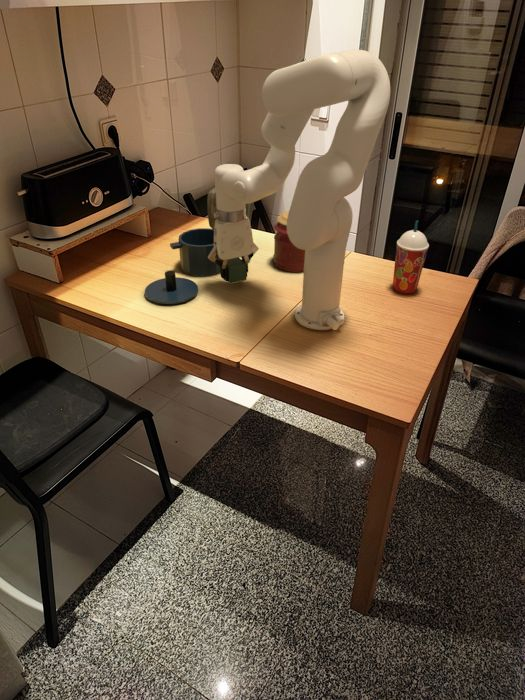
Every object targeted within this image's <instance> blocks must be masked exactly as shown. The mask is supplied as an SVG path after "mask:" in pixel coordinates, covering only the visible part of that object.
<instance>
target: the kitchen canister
mask: <svg viewBox="0 0 525 700" xmlns="http://www.w3.org/2000/svg"><path fill="white" fill-rule="evenodd" d="M288 214H289V210H288V211H284V212H283V213H281V214H280V215H278V217H277V219H276V221H277V222H276V223H275V224H274V225H273V226H274V230H275V234H274V235H273V239H274V245H273V246H274V248H273V262H274V265H275V267H276V268H278V269H280V270H282V271H286V272H293V273H297V272H298V273H299V272H304V260H305V250H302V249H299V248H297V247H296V246H294V245H293V244H292V242H291V241H290V239H289V237H288V234H287V218H288Z"/></svg>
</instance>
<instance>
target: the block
mask: <svg viewBox="0 0 525 700" xmlns="http://www.w3.org/2000/svg"><path fill="white" fill-rule="evenodd" d="M226 267H227V268H228V277H229V281H227V282H228V283H229V284H236V283H239V282H244V281H247V278H248V277H246V263H245V262H244V261H242V258H241V257H238V258H233V259H228V260H227V265H226Z"/></svg>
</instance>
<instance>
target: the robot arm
mask: <svg viewBox="0 0 525 700" xmlns="http://www.w3.org/2000/svg"><path fill="white" fill-rule="evenodd" d="M261 89H262V90H261V100H262V105H263V106H264V108H265V110H266V111H267V114H266V116H265V118H264V121H263V122H262V125H261V127H260V129H261V130H260V133H261V135H262V137H263V139H264V140H265V142H266V143H267V144H269V145H270V149H269V151H268V153H267V155H266V157H265V159H264V160H263V163H262V164H260V165H257V166H254V167H252V168H250V169H246V170H244V168H243V167H242V166H241V165H240V164H237V163H236V164H235V163H233V164H227V163H223V164H220V165H218V166H217V167H215V169H214V171H213V172H214V173H213V174H214V175H213V176H214V187H215V190H216V204H217V209H216V212H215V213H212V217H213V218H217V220H215V227H214V247H213V249H212V251H211V252H210V254H209V255H208V259H209V260H211V261H212V262H214V263H216V264H217V265H219V266H220V271H221V273H220V277H221V279H223V280H224V281H225V282H228V281H229V277H228V268H227V267H226V265H227V260H228V259H233V258H238V257H239V258H240V259H241V260H242V261H244V262H245V263H246V278H248V273H249V264H250V262H251V261H250V260H251V259H252V258H253V257H254V255H255V254H256V253H257V252H258V251H259V250H260V249H259V247H258V245H256V243H254V237H253V231H252V226H251V219H250V220H249V218H248V217H246V207H245V204H250V203H251V204H253V203H255V202H258V201H260V200H262V199H265V198H267V197H270V196H271V195H273V194H275V193H277V192H278V191H279V190H280V189H281V187H282V186H283V185H284V183H285V182H286V180H287V178H288V176H289V175H290V173H291V171H292V169H293V166H294V164H295V160H296V158H295V157H296V144H297V142H298V140H299V138H300V137H301V135H302V133H303V131H304V129H305V128H306V125H307V124H308V122H309V121H310V119H311V117H312V115H313V113H314V111H315V110H317V109H321V108H325V107H326V108H327V107H329V106H333V105H337V104H341V103H345V102H347V104H346V105H347V106H346V107H345V110H344V112H343V113H342V115H341V116H340V118H339V121H338V123H337V125H336V128H335V132H334V134H333V138H332V141H331V143H330V147H329V148H328V150H327V152H326V153H324V154H322V155H320V156H318V157H315V158H314V159H312V160H310V161H309V162H308V163H307V164H306V165H305V166H304V168H303V169H302V170H301V172H300V174H299V176H298V179H297V182H296V186H295V188H294V193H293V197H292V200H291V204H290V207H289V210H288V211H289V214H288V218H287V234H288V237H289V239H290V241H291V242H292V244H293V245H294V246H296V247H297V248H299V249H302V250H305V260H304V271H303V277H302V293H301V294H302V295H301V296H302V297H301V305H299V306H298V307H297V308H296V310H295V312H294V318H295V321H296V322H297V323H298V324H300V325H301V326H303V327H304V328H307V329H310V330H314V331H328V330H333V331H337V330H338V329H339V328H340V326H341V325H343V324H345V313H344V311H343V310H342V308H341V307H340V303H341V295H342V286H343V277H344V266H345V258H346V251H347V244H348V240H349V236H350V233H351V229H352V225H353V208H352V206H351V204H350V202H349V200H348V199H347V198H346V197H347V196H349V195H350V194H353V193H354V192H356V190H357V189H358V188H359V187H360V186H361V184H362V181H363V179H364V176H365V173H366V170H367V168H368V165H369V162H370V160H371V157H372V154H373V151H374V148H375V146H376V142H377V139H378V137H379V134H380V131H381V129H382V126H383V123H384V121H385V118H386V116H387V113H388V109H389V106H390V99H391V80H390V77H389V74H388V71H387V69H386V67H385V65H384V63H383V62H382V61H381V59H380V58H379V57H378V56H376V55H375V54H374V53H372V52H371V51H368V50H364V49H350V50H342V51H337V52H336V51H335V52H329V53H326V54H322V55H318V56H314V57H311V58H309V59H307V60H302V61H301V62H298V63H295V64H291V65H288V66H286V67H282V68H278V69H275V70H274V71H272V72H271V73H270V74H268V76H267V77H266V79H265V80H264V82H263V85H262V88H261ZM216 254H217V255H218V256H219V259H217V258H215V256H216Z"/></svg>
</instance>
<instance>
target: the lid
mask: <svg viewBox="0 0 525 700" xmlns="http://www.w3.org/2000/svg"><path fill="white" fill-rule="evenodd" d="M198 293H199V286H198V284H197V283H196V282H195V281H193V280H191V279H188V278H185V277H179V276H176V271H174V270H167V271H165V272H164V278H160V279H156V280H154V281H152V282H150V283H149V284H148V285H147V286H145V288H144V296H145V298H146V299H147V300H149V301H151V302H153V303H156V304H160V305H175V304H176V305H177V304H181V303H182V304H183V303H185V302H187V301H190V300H192V299H193V298H195V297H196V296H197V294H198Z"/></svg>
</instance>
